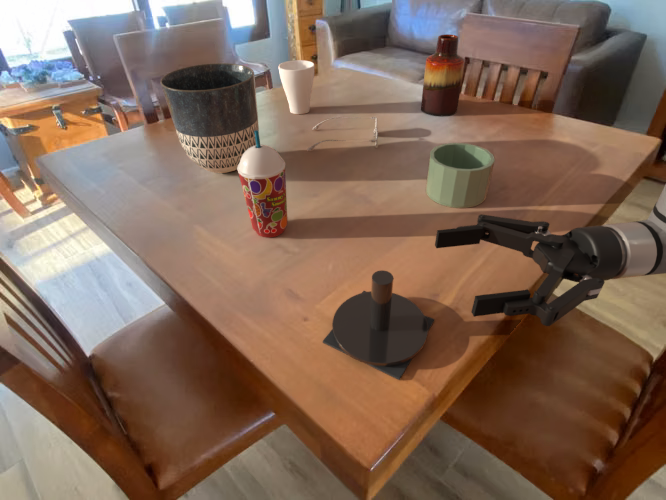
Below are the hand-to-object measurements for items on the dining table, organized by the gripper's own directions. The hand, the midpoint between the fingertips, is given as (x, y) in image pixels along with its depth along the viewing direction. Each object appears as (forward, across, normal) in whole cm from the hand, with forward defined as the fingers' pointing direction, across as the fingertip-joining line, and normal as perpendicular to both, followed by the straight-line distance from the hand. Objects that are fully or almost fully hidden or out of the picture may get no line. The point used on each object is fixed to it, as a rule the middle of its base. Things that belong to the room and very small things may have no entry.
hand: (453, 269), depth 56 cm
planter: (+35, +57, -10) cm, 68 cm away
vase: (-28, +83, -10) cm, 88 cm away
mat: (+9, 0, -11) cm, 14 cm away
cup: (+14, +91, -10) cm, 92 cm away
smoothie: (+24, +29, -11) cm, 39 cm away
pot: (-15, +36, -10) cm, 40 cm away
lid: (+9, 0, -10) cm, 14 cm away
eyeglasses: (+4, +67, -10) cm, 68 cm away
